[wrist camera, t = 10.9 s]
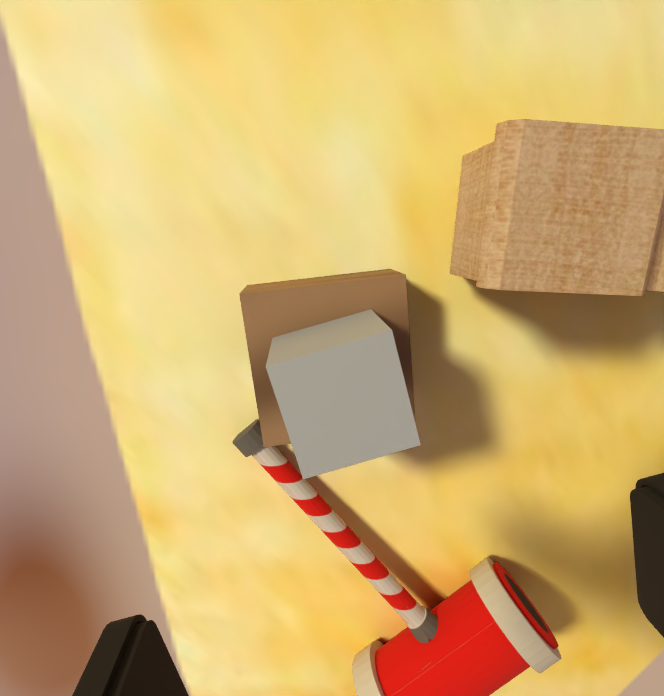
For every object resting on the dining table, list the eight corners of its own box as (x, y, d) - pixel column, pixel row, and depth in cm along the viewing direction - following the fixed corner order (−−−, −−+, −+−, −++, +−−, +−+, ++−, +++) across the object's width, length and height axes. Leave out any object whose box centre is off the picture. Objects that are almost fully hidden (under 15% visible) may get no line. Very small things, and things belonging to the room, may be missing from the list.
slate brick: (272, 337, 22) (265, 366, 17) (371, 309, 22) (392, 330, 17) (301, 428, 23) (303, 479, 18) (395, 401, 23) (420, 444, 18)
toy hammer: (174, 482, 28) (139, 553, 22) (318, 361, 27) (325, 399, 20) (399, 686, 33) (423, 789, 27) (528, 592, 32) (583, 678, 26)
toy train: (692, 281, 27) (915, 307, 17) (413, 268, 25) (487, 290, 16) (716, 183, 26) (971, 152, 16) (423, 163, 24) (510, 116, 14)
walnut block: (247, 284, 25) (239, 293, 21) (389, 268, 26) (405, 274, 22) (268, 416, 27) (263, 447, 23) (398, 399, 28) (415, 427, 24)
